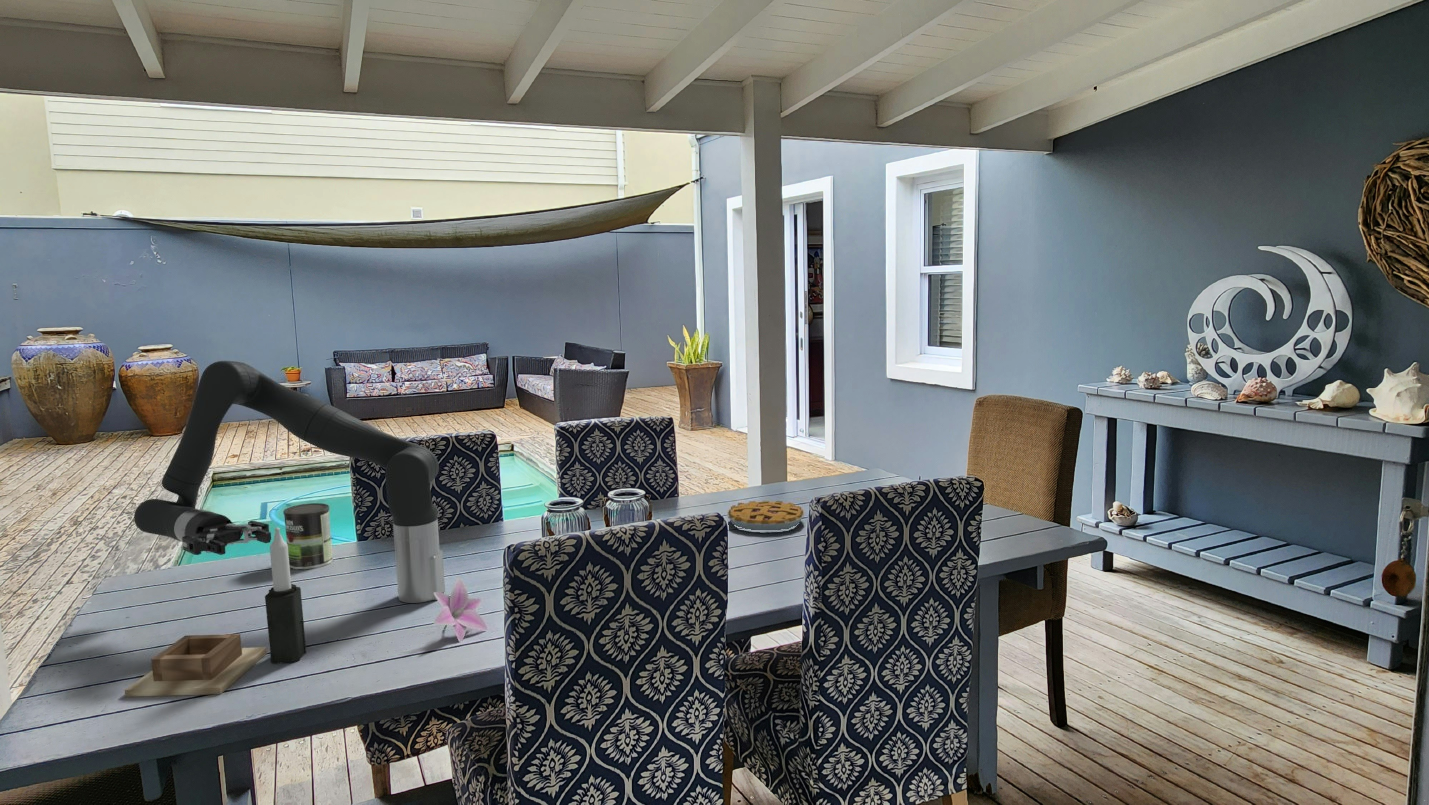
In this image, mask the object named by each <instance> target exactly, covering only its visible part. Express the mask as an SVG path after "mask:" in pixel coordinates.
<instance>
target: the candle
mask: <svg viewBox="0 0 1429 805" xmlns="http://www.w3.org/2000/svg"><path fill="white" fill-rule="evenodd" d="M280 530H281V529H280V527H275V528H274V536H273V540H272V542H271V544H270V545H269V553H270V554H269V555H270V563H271V576H272V586H273V587H271V588H270V589H269V590H268V592H267V594H266V595H265V596H264V601H265V602H264V603H265V612H266V622H267V632H268V634H267V635H268V641H269V642H268V643H269V644H268V645H269V654H270V661H271V662H270V663H272V664H273V665H275V664H292V663H297V662H299V661H301V658H302V657H303V656H304V655H305V654H307V644H306V643H307V642H306V635H305V621H304V613H303V612H304V611H303V602H302V589H301V587H300V586H297V585H296V584H292V580H291V568H290V567H289V556H288V545H287V541H285V540H284V539H283V536H282V534H281V533H280Z"/></svg>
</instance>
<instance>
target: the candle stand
mask: <svg viewBox="0 0 1429 805" xmlns="http://www.w3.org/2000/svg"><path fill="white" fill-rule="evenodd" d="M267 654H268V648H267V646H263V647H262V646H261V647H242V638H241V634H240V633H235V634H233V633H232V634H229V633H228V634H227V633H226V634H196V635H190V634H189V635H184V636H182V637H181V638H179V639H177V641H175V642H174V643H172V644H171V645H170V646H168V647H166V648H165V649H164V650H163V651H161V652H159V653H158V654H157V655H155V656H154V657H153V658H151V659H150V661H151V669H152V670H150V671H149V672H147V673H146V674H144V675H143V676H142V677H141V678H140V679H139V678H138V680H137V681H135V682H133V683H132V684H131V685H130V686H128V687H127V688H125V689H124V695H125V697H126V698H129V697H161V696H163V697H164V696H166V697H167V696H169V697H170V696H198V695H199V696H200V695H222V694H223V693H224V692H225V691H226V690H227V689H229V687H230V686H232V685H233V684H234V683H235V682H236V681H238V680H239V679H240V678H241V677H242V676H243V675H244V674H246V673H247V672H248V671H249V670H250V669H251V668H252V667H254V666H255V664H257V663H258V662H259V661H260V660H261V659H262V658H264V657H266V655H267Z"/></svg>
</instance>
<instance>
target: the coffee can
mask: <svg viewBox="0 0 1429 805" xmlns="http://www.w3.org/2000/svg"><path fill="white" fill-rule="evenodd" d="M283 515H284V517H283V518H284V528H285V536H286V537H285V538H286V543H287V545H288V556H289V567H290V569H291V568H293V569H292V570H298V569H304V570H310V569H311V570H313V569H317V568H322V567H325V566H328V565H329V564H331V563H332V562H333V561H334V558H333V547H332V546H333V545H332V534H331V532H332V531H331V520H330V505H329V504H328V503H327V504H326V503H322V502H317V503H316V502H314V503H313V502H311V503H309V502H308V503H301V504H297V505H293V506H289V507H287V508H285V509H284V510H283Z"/></svg>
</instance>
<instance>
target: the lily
mask: <svg viewBox="0 0 1429 805" xmlns="http://www.w3.org/2000/svg"><path fill="white" fill-rule="evenodd" d="M434 595H435V597H436V598H437V601H438V602H439V604H440V605H441V607H442V609H440V610H439V612H438V614H437V615H436V616H435V618H434V620H433V625H436V626H444V628H443V630H444V629H445V630H446V628H447V626H452V627H453V630H454V632H455V635H456V638H457V640H458V642H459V643H461V642H462V641H463V639H464V637H465V635H466V633H467V628H470V629H474V630H479V631H483V632H487V631H486V630H488V631H489V628H488V625H487V623H486V622H485V620H484V619H483V617H482V616H481V615H480V614H479V612H477V610H478V609H479V608H480V607H481V605H482V603H483V599H481V598H476V597H475V598H473V597H472V598H471V597H470V598H469V593H468V590H467V587H466V585H465V583H464V581H463V579H462V577H458V578H457V579H456V580H455V582H454V585H453V588H452V590H451V593H450V595H449V594H447V593H444V592H443V593H439V592H434Z"/></svg>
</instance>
